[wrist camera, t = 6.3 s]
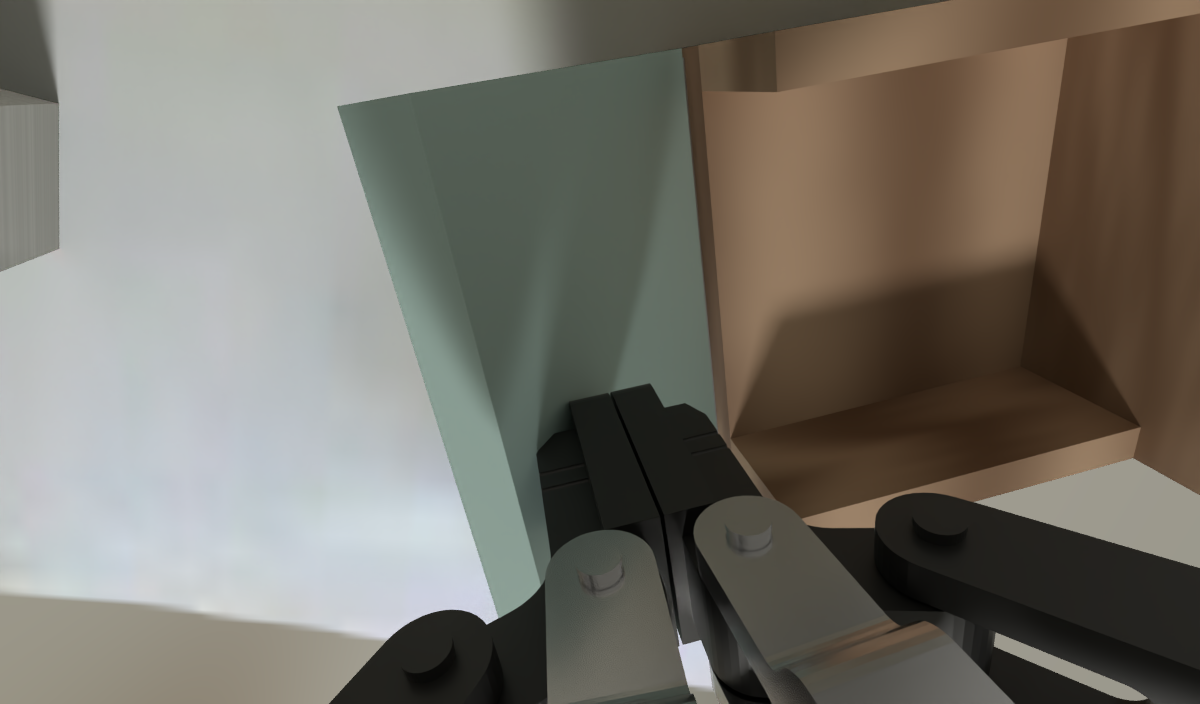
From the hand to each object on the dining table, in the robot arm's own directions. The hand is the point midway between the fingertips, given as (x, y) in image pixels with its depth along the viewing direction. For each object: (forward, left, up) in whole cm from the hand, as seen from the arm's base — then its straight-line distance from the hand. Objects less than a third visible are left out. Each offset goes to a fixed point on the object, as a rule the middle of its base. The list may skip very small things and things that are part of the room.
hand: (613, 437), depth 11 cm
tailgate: (+3, 0, -6) cm, 7 cm away
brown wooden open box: (+9, 0, -9) cm, 13 cm away
